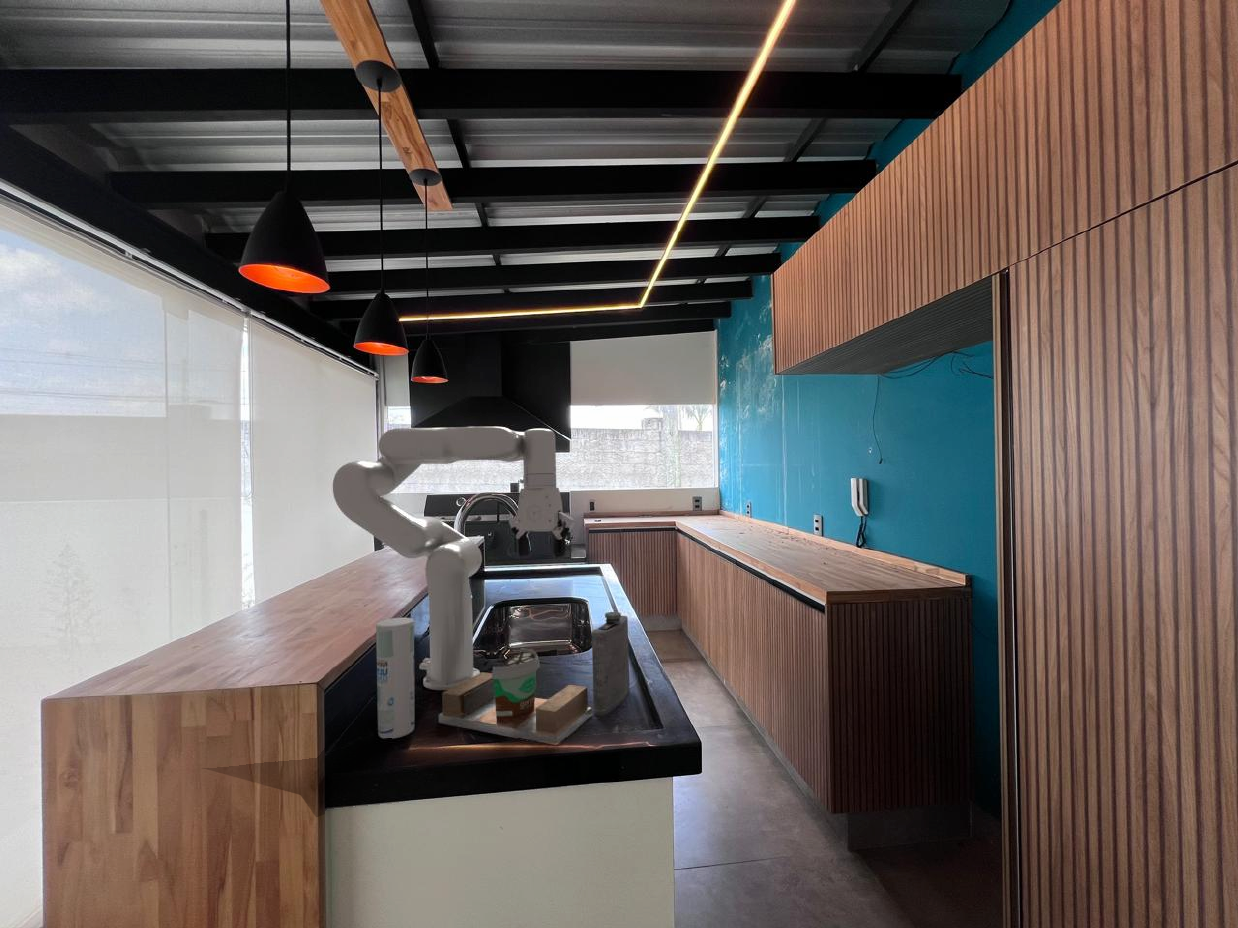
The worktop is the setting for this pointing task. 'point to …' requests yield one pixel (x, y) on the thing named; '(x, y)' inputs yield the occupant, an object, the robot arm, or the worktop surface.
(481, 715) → the wooden u-shaped base
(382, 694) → the spray can
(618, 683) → the flask
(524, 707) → the food container
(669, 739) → the worktop surface
